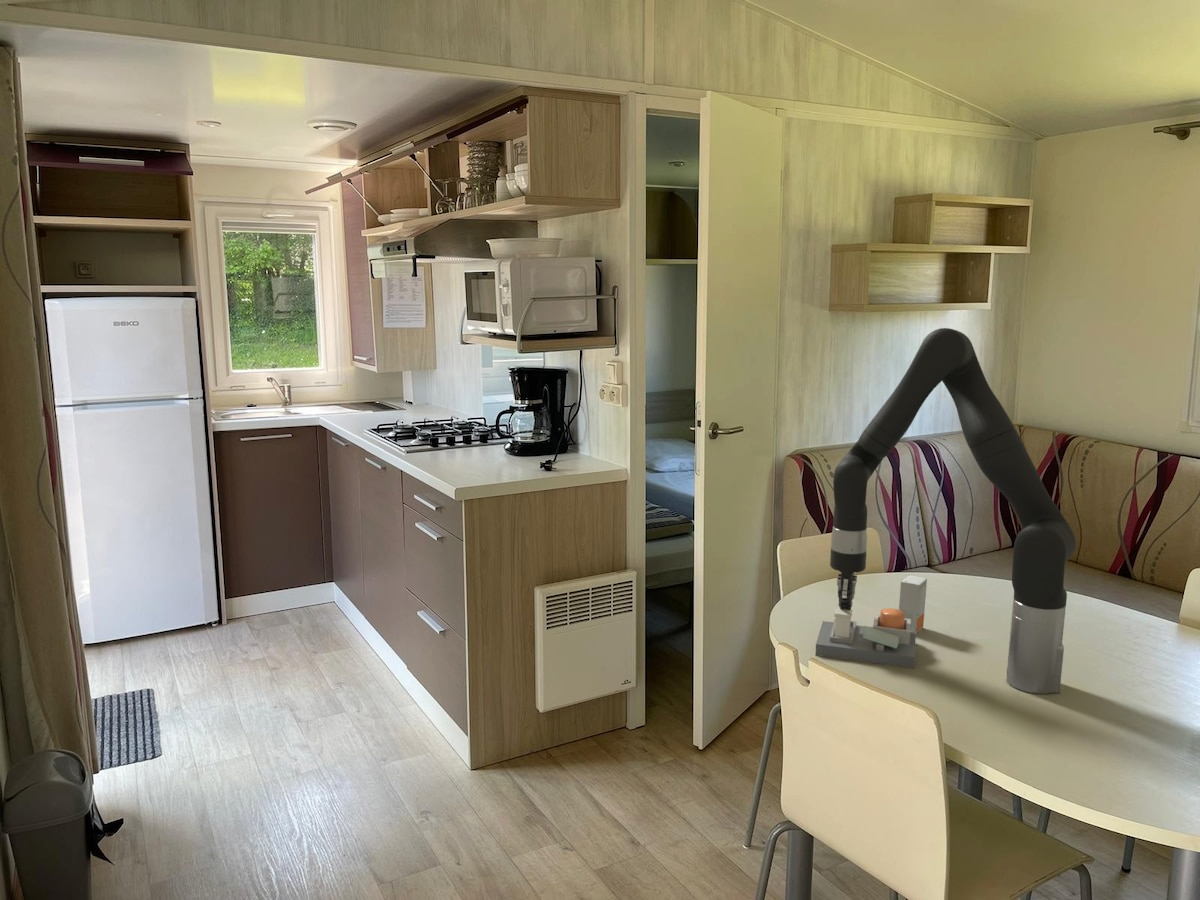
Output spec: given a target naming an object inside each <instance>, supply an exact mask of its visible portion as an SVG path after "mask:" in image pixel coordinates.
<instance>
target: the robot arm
mask: <svg viewBox="0 0 1200 900" xmlns="http://www.w3.org/2000/svg"><path fill="white" fill-rule="evenodd" d="M941 382H943V384H944V386H945V388H946V389H947V391H948V393H949V394H950V396H951V398H952V401H953V403H954V405H955V408H956V411H957V415H958V420H959V423H960V427H961V430H962V433H963V437H964V439H965V441H966V443H967V446H968V448H969V450H970V453H971V455H972V456H973V459H974V460H975V462H976V464H977V465H978V467H979V469H980V470H981V472H982V473H983V475H984V476H985V477H986V478H987V479H988V481H989V482H991V484H993V486H994V487H995V488H996V489H997V490H998V492H1000V493H1001V494H1002V495H1003V496H1004V498H1006V500H1007V501H1008V502H1009V504H1010V505H1011V507H1012V508H1013V510H1014V513H1015V515H1016V517H1017V518H1018V521H1019V524H1020V526H1021V528H1022V529H1021V530H1020V531H1019V533H1018V534H1017V536H1016V537H1015V541H1014V546H1013V552H1012V568H1011V569H1012V570H1011V584H1012V588H1013V598H1012V599H1013V600H1012V613H1011V622H1010V633H1009V645H1008V656H1007V667H1006V682H1007V683H1008V684H1009V685H1010V686H1011V687H1013V688H1015V689H1018V690H1020V691H1024V692H1026V693H1032V694H1041V695H1042V694H1043V695H1045V694H1060V692H1061V691H1060V690H1061V682H1062V673H1063V672H1062V671H1063V662H1064V661H1063V660H1064V654H1065V653H1064V651H1065V650H1064V649H1065V647H1064V644H1063V640H1064V639H1063V637H1064V628H1065V619H1066V610H1067V609H1066V608H1067V600H1068V599H1067V598H1068V592H1067V590H1066V589H1065V588H1064V579H1065V567H1066V562H1068V561H1069V560H1070V559H1071V558H1072V557H1073V556H1074V554H1075V552H1076V549H1077V538H1076V535H1075V533H1074V531H1073V529H1072V528H1071V526H1070V524H1069V523H1068V521H1067V520H1066V518H1065V517H1064V515H1063V513H1062V512H1061V511H1060V509H1059V508H1058V507H1057V505H1056V504H1055V502H1054V500H1053V498H1052V497H1051V495H1050V494H1049V493H1048V491H1047V489H1046V487H1045V485H1044V483H1043V481H1042V479H1041V477H1040V474H1039V472H1038V470H1037V468H1036V466H1035V464H1034V462H1033V461H1032V459H1031V457H1030V455H1029V453H1028V451H1027V448H1026V446H1025V444H1024V442H1023V440H1022V438H1021V437H1020V434H1019V432H1018V431H1017V429H1016V427H1015V425H1014V423H1013V422H1012V420H1011V418H1010V417H1009V415H1008V413H1007V412H1006V410H1005V408H1004V407H1003V405H1002V404H1001V402H1000V400H999V399H998V397H997V396H996V395H995V393H994V392H993V390H992V388H991V386H990V385H989V383H988V381H987V379H986V377H985V374H984V372H983V370H982V367H981V365H980V362H979V359H978V356H977V353H976V351H975V348H974V346H973V343H972V342H971V340H970V337H968V336H967V335H966V334H965V333H964V332H961V331H959V330H956V329H953V328H950V327H947V328H946V327H942V328H937V329H935V330H933V331H930V332H929V333H928V334H927V335H926V336H925V337H924V339H923V340H922V341H921V343H920V346H919V348H918V350H917V352H916V353H915V356H914V358H913V359H912V361H911V363H910V365H909V367H908V369H907V371H905V374H904V375H903V377H902V378H901V380H900V382H898V384H897V386H896V387H895V389H894V390H893V392H892V393H891V394H890V396H889V397H888V399H887V400H886V401H885V403H884V404H883V405H882V406H881V408H880V409H879V410H878V411H877V413H876V414H875V416H874V417H872V420H871V421H869V423H868V425H867V426H866V427H865V428H864V430H863V432H862V433H861V435H860V436H859V438H858V440H857V441H856V442H855V443H854V445H853V446H852V447H851V448H850V449H849V450H848V452H847V453H846V454H845V456H844V457H843V458H842V459H841V460H840V462H838V464H837V465H836V467H835V468H834V473H833V500H834V509H833V522H832V524H833V525H832V532H831V538H830V539H831V540H830V541H831V543H830V561H829V562H830V563H829V566H830V568H831V569H833V570H834V571H839V572H840V573H838V577H837V579H836V580H837V581H836V586H837V598H838V607H839V609H847V610H852V607H853V603H854V602H853V600H854V599H855V594H856V585H857V582H858V575H855V573H861V572H864V571H865V569H866V567H867V552H868V551H867V550H868V549H867V548H868V533H867V532H868V530H867V528H868V526H867V525H868V506H867V504H866V503H867V491H868V490H867V488H868V481H869V480H870V478H871V477H872V475H874V472H875V470H877V468H878V467H879V465H880V464H881V463H882V461H883V460H884V458H886V457H887V456H888V455H889V454H890V453H891V452H892V451H893V449H895V447H896V445H898V443H899V442H900V440H901V439H902V438H903V436H904V435H906V433H907V431H908V430H909V428H910V427H911V425H912V423H913V421H914V420H915V418H916V416H917V414H918V412H919V411H920V409H921V407H922V406H923V404H924V402H925V401H926V400H927V398H928V397H929V396H930V394H931V393H932V392H933V391H934V390H935V388H936V387H938V386H939V384H940V383H941Z"/></svg>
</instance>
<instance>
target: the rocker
mask: <svg viewBox="0 0 1200 900" xmlns="http://www.w3.org/2000/svg"><path fill="white" fill-rule="evenodd" d="M864 626H865V629H864V634H863V638H865V639H868V640H871V641H874V642H877V643H881V644H884V645H887V646H890V647H893V648H896V649H897V646H898V640H899V636H896V635H892V634H889V633H886V632H883V631H880V630H877V629H874V628H871V627H872V626H867V625H864Z"/></svg>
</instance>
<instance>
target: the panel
mask: <svg viewBox="0 0 1200 900" xmlns="http://www.w3.org/2000/svg"><path fill="white" fill-rule="evenodd" d="M880 615H881V614H880ZM880 615H879V614H874V617H873V618H874V619H873V624H872V626H870V627H871V628H874V629H877V630H880V631H883V632H886V633H889V634H892V635H896V636H899V640H898V646H897V649H896V648H893V647H890V646H887V645H884V644H881V643H877V642H874V641H871V640H868V639H865V638H863V634H864V629H865V626H866V625H858V624H857V621H855V620H851V624H850V637H849V638H841V637H835V618H834V619H833V621H824V620H822V623H821V626H820V629H819V632H818V636H817V640H816V643H815V656H819V655H822V656H821V657H825V658H826V657H828V658H834V659H843V660H850V661H856V662H857V661H858V662H863V663H864V662H865V663H871V664H872V663H873V664H878V665H879V664H881V665H887V666H893V667H901V668H909V669H915V665H916V664H915V663H916V635H917V633H916V632H910V626H911V619H905V620H904V629H896V628H888V627H880Z"/></svg>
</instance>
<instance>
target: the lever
mask: <svg viewBox="0 0 1200 900" xmlns="http://www.w3.org/2000/svg"><path fill="white" fill-rule="evenodd" d="M852 616H853V610H852V609H851V610H847V609H840V608H835V611H834V619H835V637H841V638H849V637H850V624H851V621H852Z"/></svg>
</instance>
